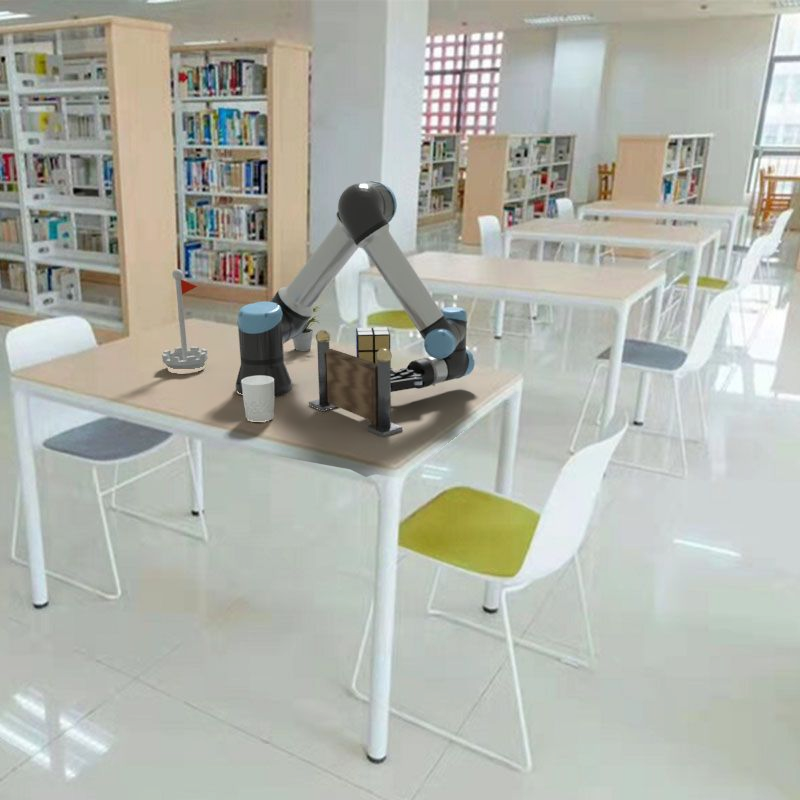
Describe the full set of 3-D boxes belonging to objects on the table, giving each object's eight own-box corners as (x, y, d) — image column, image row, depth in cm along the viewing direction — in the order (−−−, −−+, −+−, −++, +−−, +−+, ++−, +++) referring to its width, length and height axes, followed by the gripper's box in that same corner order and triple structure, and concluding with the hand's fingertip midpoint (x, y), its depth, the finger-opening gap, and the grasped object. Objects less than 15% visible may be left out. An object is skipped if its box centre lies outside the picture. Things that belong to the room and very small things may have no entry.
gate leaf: (326, 404, 196) (325, 349, 192) (332, 403, 197) (331, 348, 193) (375, 425, 182) (375, 366, 177) (381, 423, 183) (381, 365, 178)
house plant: (326, 354, 246) (325, 304, 241) (283, 356, 245) (280, 305, 239) (324, 343, 260) (323, 296, 255) (283, 345, 258) (281, 297, 253)
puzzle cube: (356, 358, 243) (355, 327, 240) (388, 357, 244) (387, 326, 240) (357, 367, 233) (357, 335, 230) (390, 366, 234) (390, 334, 231)
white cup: (275, 423, 186) (272, 384, 183) (242, 424, 185) (239, 385, 182) (277, 413, 193) (275, 375, 190) (245, 413, 193) (243, 375, 190)
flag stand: (160, 376, 224) (150, 273, 214) (166, 364, 236) (157, 266, 227) (206, 374, 226) (198, 272, 216) (210, 362, 238) (202, 265, 228)
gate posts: (309, 405, 199) (306, 330, 192) (327, 400, 202) (325, 326, 196) (382, 436, 177) (382, 353, 171) (402, 430, 181) (402, 348, 175)
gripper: (443, 391, 199) (373, 411, 185) (409, 380, 209) (340, 398, 194) (443, 363, 197) (372, 381, 182) (409, 353, 206) (339, 370, 192)
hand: (356, 390), depth 188 cm, fingers closed
